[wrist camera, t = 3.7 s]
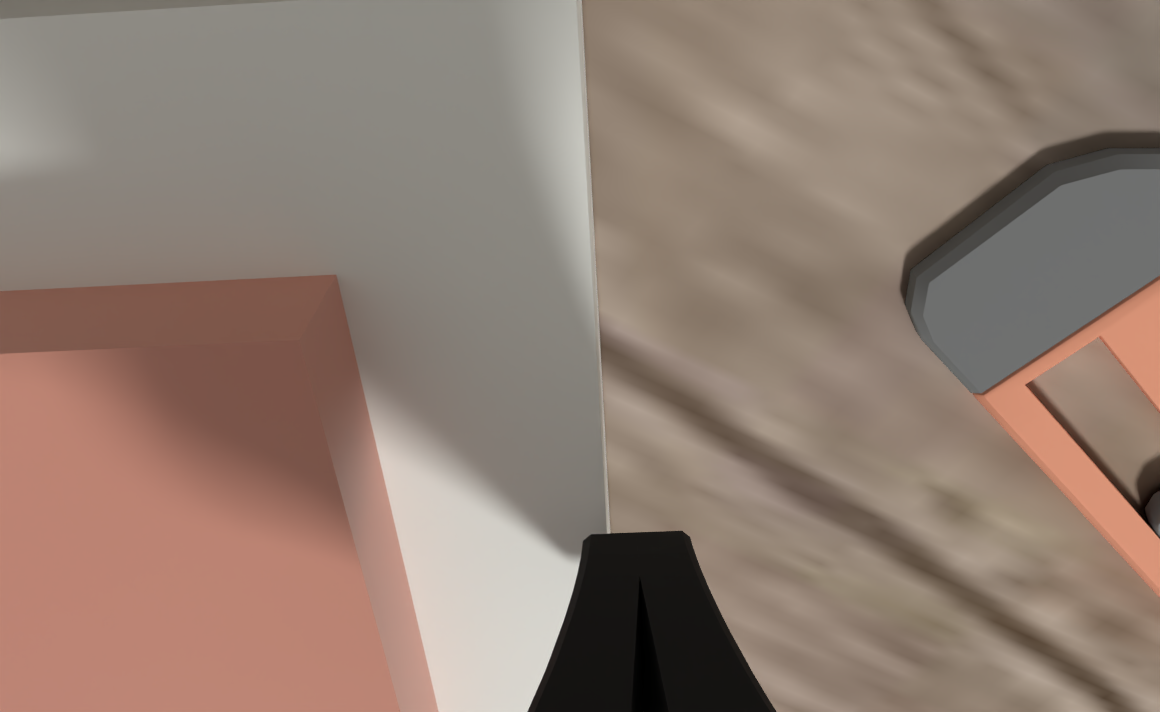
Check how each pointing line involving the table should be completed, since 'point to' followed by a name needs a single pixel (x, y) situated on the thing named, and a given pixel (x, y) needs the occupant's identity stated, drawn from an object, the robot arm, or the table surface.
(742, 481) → the table surface
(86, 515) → the pink rubber eraser
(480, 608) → the white rectangular block
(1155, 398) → the utility knife
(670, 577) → the robot arm
